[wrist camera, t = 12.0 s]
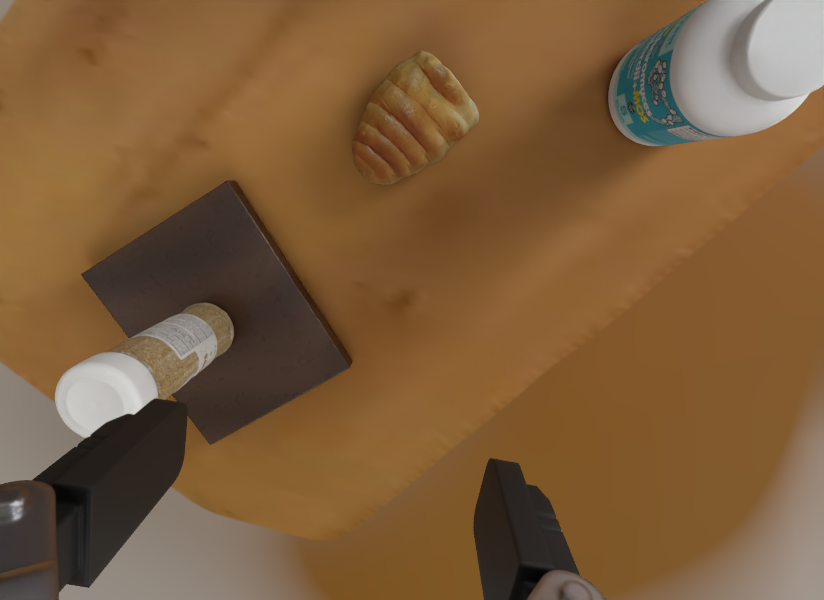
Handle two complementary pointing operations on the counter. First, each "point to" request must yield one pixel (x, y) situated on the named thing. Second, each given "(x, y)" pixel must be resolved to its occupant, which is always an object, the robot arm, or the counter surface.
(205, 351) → the sprinkles bottle
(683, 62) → the pill bottle
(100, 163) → the counter surface
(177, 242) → the walnut board
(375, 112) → the pastry
